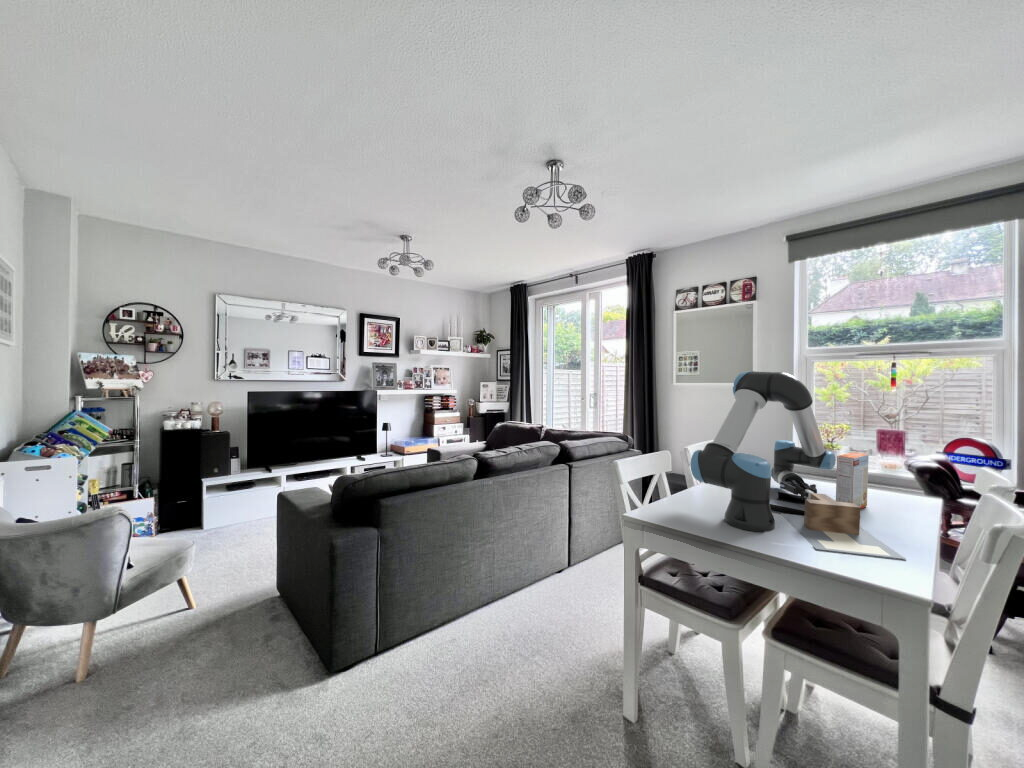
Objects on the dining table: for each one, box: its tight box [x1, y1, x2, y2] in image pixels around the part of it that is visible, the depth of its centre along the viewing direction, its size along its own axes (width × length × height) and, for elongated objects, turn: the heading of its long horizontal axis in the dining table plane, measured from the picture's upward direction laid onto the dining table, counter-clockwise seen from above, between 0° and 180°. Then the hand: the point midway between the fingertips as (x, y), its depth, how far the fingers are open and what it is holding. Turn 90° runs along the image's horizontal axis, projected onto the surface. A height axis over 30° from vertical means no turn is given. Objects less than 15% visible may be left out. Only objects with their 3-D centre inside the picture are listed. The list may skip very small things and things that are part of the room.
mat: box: [780, 513, 906, 560], centre depth 139 cm, size 22×32×1 cm
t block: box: [803, 492, 861, 535], centre depth 146 cm, size 14×14×9 cm
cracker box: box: [835, 451, 869, 510], centre depth 166 cm, size 14×6×21 cm, turn 122°
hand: (814, 498), depth 157 cm, fingers closed
